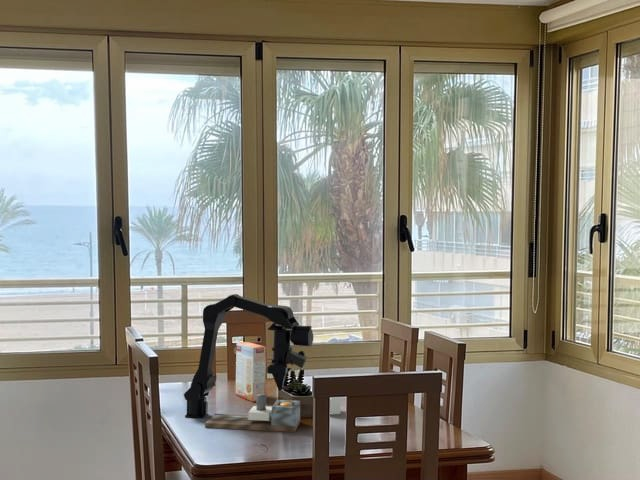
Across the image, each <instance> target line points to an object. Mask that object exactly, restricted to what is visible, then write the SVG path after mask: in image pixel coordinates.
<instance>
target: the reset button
mask: <svg viewBox="0 0 640 480" xmlns="http://www.w3.org/2000/svg"><path fill="white" fill-rule="evenodd" d="M280 406H292V403H290V402H282V403H280Z"/></svg>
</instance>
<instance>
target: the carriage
mask: <svg viewBox="0 0 640 480" xmlns="http://www.w3.org/2000/svg"><path fill="white" fill-rule="evenodd" d="M247 415H248V420H263V421H269V420H270V419H271V417H272V406H267V394H266V393H265V394H257V401H256V405H253V406H252V407H251V408H250V409H249V411H248V412H247Z"/></svg>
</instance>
